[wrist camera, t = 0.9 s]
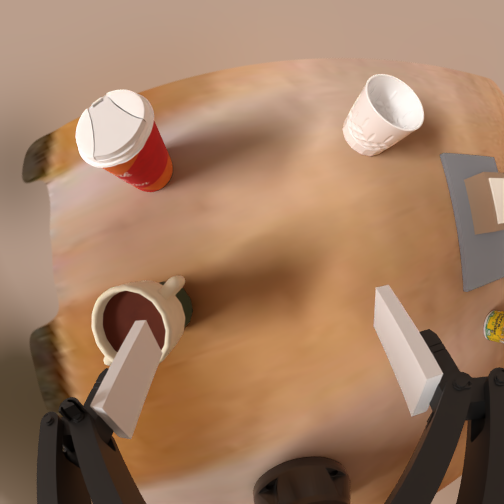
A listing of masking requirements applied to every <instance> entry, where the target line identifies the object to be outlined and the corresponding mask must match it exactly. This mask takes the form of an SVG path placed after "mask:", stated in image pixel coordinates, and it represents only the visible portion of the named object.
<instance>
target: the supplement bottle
mask: <svg viewBox="0 0 504 504" xmlns="http://www.w3.org/2000/svg"><path fill="white" fill-rule="evenodd" d="M483 331H484V336H485V338H486V339H488V340H491V341H495V342H499V343H503V344H504V311H496V310H493V311H491V312H490V313H489V314H488V315H487V317H486V319H485V322H484V327H483Z"/></svg>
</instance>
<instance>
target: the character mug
mask: <svg viewBox="0 0 504 504" xmlns="http://www.w3.org/2000/svg"><path fill="white" fill-rule="evenodd" d="M184 284H185V279H184V277H183V276H180V275H178V276H173V277H171V278H169V279H168V280H167V282H160V283H157V282H154V281H150V280H144V281H139V282H130V283H127V284H123V285H120V286H116V287H112V288H110V289H108V290H107V291H105V292H104V293H103V294H102V295H101V296H100V297H99V298H98V299H97V301H96V303H95V305H94V308H93V312H92V331H93V334H94V337H95V341H96V344H97V345H98V347H99V348H100V350H101V351H102V353H103V354H104V356H105V357H104V363H105V364H106V365H111V364H112V362H113V360H114V358H115V356H116V355H117V353H118V351H119V349H120V347H121V345H122V344H123V342H124V340H125V338H126V336H127V335H128V333H129V331H130V329H131V328H132V326H133V324H134V322H135V321H139V320H146V321H147V323H148V325H149V327H150V329H151V331H152V333H153V335H154V337H155V339H156V341H157V343H158V345H159V347H160V349H161V351H162V353H163V354H162V356H161V359H160V361H159V363H160V362H162V361H163V360H164V359H165V358H166V356H167V355H168V354H169V353H170V352H171V350H172V349H173V348H174V347H175V345H176V344H177V343H178V341H179V339H180V337H181V336H182V334H183V332H184V328H185V326H186V325H187V324H188V323H189V322H190V320H191V316H192V312H193V309H192V304H191V299H190V297H189V296H188V295H187V293H186V292H185V290H184V289H183V288H182V287H183V286H184Z"/></svg>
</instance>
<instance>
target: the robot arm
mask: <svg viewBox="0 0 504 504" xmlns="http://www.w3.org/2000/svg"><path fill="white" fill-rule="evenodd" d="M374 328H375V330H376V332H377V335H378V337H379V339H380V341H381V343H382V346H383V348H384V350H385V352H386V355H387V357H388V359H389V362H390V364H391V366H392V369H393V371H394V373H395V376H396V378H397V381H398V383H399V385H400V388H401V390H402V393H403V395H404V398H405V401H406V403H407V406H408V408H409V411H410V414H411V416H415V415H418V414H420V413H423V412H426V411H427V409H428V407H429V405H430V406H431V408H432V413H431V415H430V417H429V419H428V421H427V422H428V423H427V425H426V427H425V430H424V432H423V434H422V436H421V439H420V441H419V443H418V445H417V447H416V449H415V451H414V453H413V455H412V457H411V459H410V461H409V463H408V465H407V467H406V469H405V470H404V472H403V474H402V476H401V477H400V479H399V481H398V483H397V484H396V486H395V488H394V489H393V491H392V492H391V494H390V496H389V497H388V499H387V500H386V502H385V503H384V504H431V502H432V500H433V498H434V496H435V494H436V492H437V490H438V488H439V486H440V484H441V482H442V480H443V477H444V475H445V473H446V471H447V468H448V466H449V464H450V461H451V459H452V456H453V454H454V451H455V448H456V446H457V443H458V440H459V437H460V434H461V431H462V428H463V425H464V422H465V420H468V428H467V441H466V451H465V459H464V467H463V473H462V479H461V484H460V489H459V494H458V499H457V503H456V504H504V368H495V369H493V370H492V371H491V372H490V374H489V376H487V377H479V378H472V377H471V376H469V375H468V374H466V373H464V372H460V371H459V369H458V367H457V366H456V364H455V362H454V361H453V359H452V358H451V356H450V354H449V353H448V351H447V350H446V349H445V346H444V345H443V344H442V342H441V340H440V339H439V337H438V336H437V334H435V333H434V332H433V331H431V330H430V329H428V330H424V331H421V332H419V331H418V329H417V328H416V326H415V324H414V323H413V321H412V320H411V318H410V317H409V315H408V313H407V312H406V310H405V309H404V307H403V306H402V304H401V303H400V301H399V300H398V298H397V297H396V295H395V294H394V292H393V291H392V289H391V288H390V286H389V285H385V286H380V287H376V296H375V314H374ZM162 354H163V353H162V351H161V349H160V347H159V345H158V343H157V341H156V339H155V337H154V335H153V333H152V331H151V329H150V327H149V325H148V323H147V321H146V320H139V321H135V322H134V324H133V326H132V328H131V329H130V331H129V333H128V335H127V336H126V338H125V340H124V342H123V344H122V345H121V347H120V349H119V351H118V353H117V355H116V356H115V358H114V360H113V362H112V364H111V366H110V368H109V369H108V368H106V369H105V370H104V371H103V372H102V373H101V374H100V375H99V377H98V379H97V380H96V383H95V384H94V386H93V389H92V390H91V392H90V394H89V396H88V398H87V400H86V402H85V404H84V406H83V405H82V404H81V403H80V402H79V401H78V400H77V399H76V398H73V397H70V398H67V399H66V400H64V401H63V402H62V403H61V405H60V407H59V413H60V414H61V415H62V416H63V417H59V416H58V415H57V414H56V413H55V412H48V413H46V414H45V415H44V417H43V418H42V420H41V425H40V435H39V444H38V459H37V504H91V500H92V502H93V504H146V502H145V501H144V499H143V497H142V495H141V494H140V492H139V490H138V488H137V486H136V484H135V482H134V480H133V478H132V477H131V475H130V473H129V470H128V468H127V466H126V464H125V462H124V460H123V458H122V456H121V453H120V451H119V449H118V446H117V444H116V442H115V439H114V438H113V437H112V433H113V431H114V432H115V433H116V434H117V435H118V436H119V437H122V438H128V439H131V438H132V435H133V432H134V429H135V426H136V424H137V421H138V418H139V415H140V412H141V409H142V407H143V404H144V401H145V398H146V396H147V393H148V390H149V388H150V385H151V382H152V380H153V377H154V374H155V372H156V369H157V366H158V364H159V361H160V359H161V356H162ZM63 447H64V451H63V450H62V449H63ZM253 495H254V503H255V504H350V479H349V476H348V474H347V472H346V470H345V469H344V467H343V466H342V465H341V464H340V463H338V462H337V461H335V460H332V459H329V458H323V457H307V458H300V459H295V460H291V461H288V462H285V463H282V464H280V465H278V466H276V467H274V468H272V469H270V470H269V471H267V472H266V473H265V474H264V475H262V476H261V477H260V478H259V480H258V481H257V482H256V484H255V486H254V490H253ZM90 497H91V498H90Z"/></svg>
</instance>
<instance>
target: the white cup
mask: <svg viewBox="0 0 504 504" xmlns="http://www.w3.org/2000/svg"><path fill="white" fill-rule="evenodd" d="M423 121H424V110H423V107H422V104H421V102H420V100H419V98H418V96H417V95H416V94H415V92H414V91H413V90H412V89H411V88H410V87H409V86H408V85H407V84H405V83H404V82H403V81H401V80H400V79H398V78H396V77H393V76H391V75H386V74H377V75H374V76H372V77H370V78H369V79H368V81H367V83H366V84H365V86H364V88H363V89H362V91H361V93H360V94H359V96H358V98H357V99H356V101H355V103H354V105H353V107H352V108H351V110H350V112H349V115H348V116H347V118H346V119H345V121H344V125H343V133H344V137H345V140H346V141H347V142H348V144H349V145H350V147H351V148H352V149H354V150H355V151H357V152H358V153H360V154H362V155H367V156H374V155H377V154H380V153H381V152H383V151H384V150H386V149H388V148H390V147H391V146H393V145H394V144H396V143H398V142H399V141H401V140H402V139H403V138H405V137H406V136H408V135H409V134H411V133H412V132H414V131H415V130H417V129H418V128H420V127H421V125H422V123H423Z"/></svg>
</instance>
